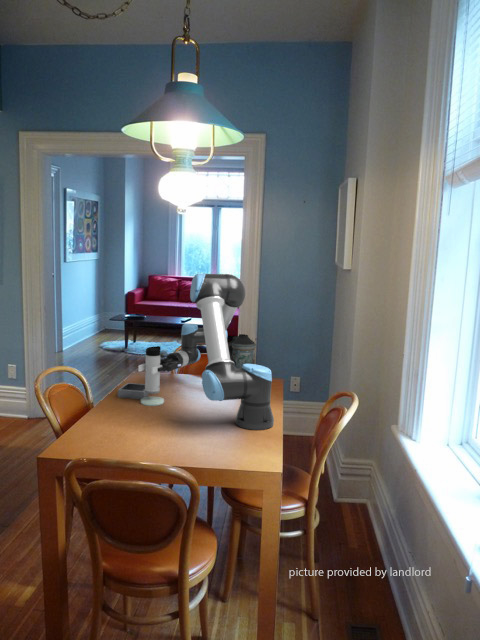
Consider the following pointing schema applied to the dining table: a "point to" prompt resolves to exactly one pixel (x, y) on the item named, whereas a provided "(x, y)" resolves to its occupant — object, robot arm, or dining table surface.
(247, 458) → the dining table surface
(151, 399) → the disc
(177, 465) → the dining table surface
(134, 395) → the square frame
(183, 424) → the dining table surface
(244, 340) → the beer stein
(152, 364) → the travel mug
